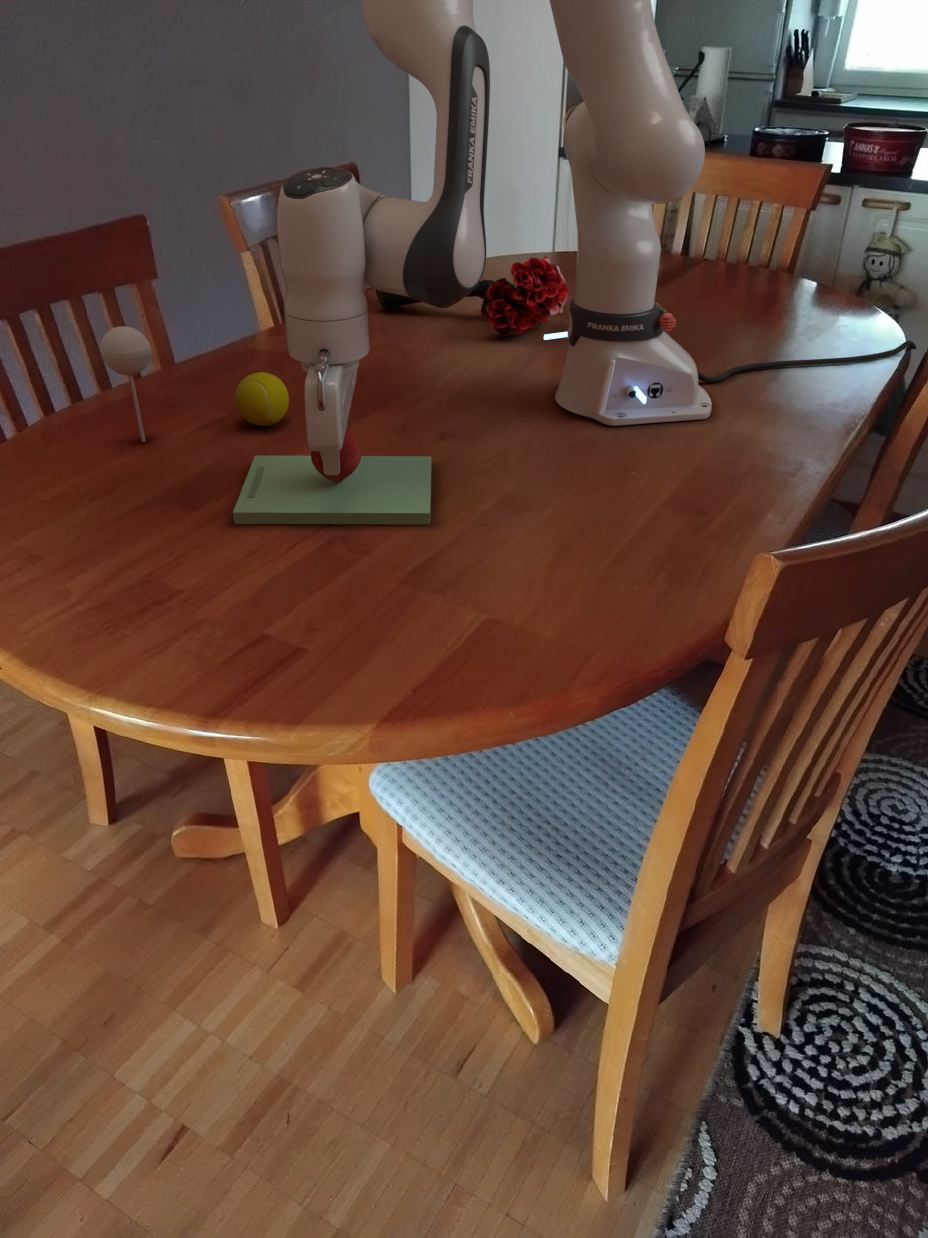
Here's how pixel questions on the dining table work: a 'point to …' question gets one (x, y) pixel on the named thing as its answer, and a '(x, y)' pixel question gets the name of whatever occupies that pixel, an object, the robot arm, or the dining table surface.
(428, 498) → the cutting board
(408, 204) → the robot arm
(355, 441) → the onion
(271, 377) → the tennis ball
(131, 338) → the lollipop
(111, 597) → the dining table surface
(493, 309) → the carnation
